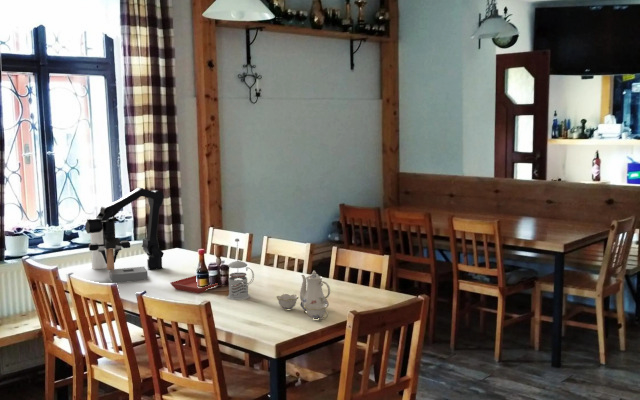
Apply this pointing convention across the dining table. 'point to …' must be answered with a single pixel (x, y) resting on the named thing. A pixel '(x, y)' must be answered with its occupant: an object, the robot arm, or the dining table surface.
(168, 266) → the dining table surface
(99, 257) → the cylindrical container
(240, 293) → the french press
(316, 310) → the chinaware
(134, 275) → the socket block
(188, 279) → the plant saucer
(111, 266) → the peg
